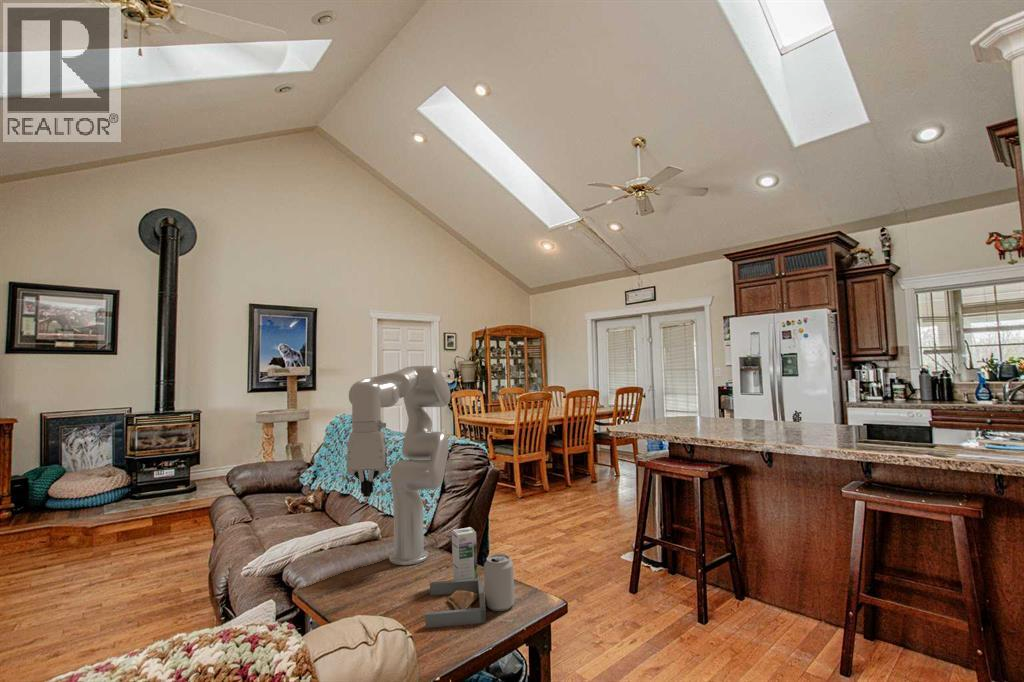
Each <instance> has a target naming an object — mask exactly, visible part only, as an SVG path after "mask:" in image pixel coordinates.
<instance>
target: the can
mask: <svg viewBox="0 0 1024 682" xmlns="http://www.w3.org/2000/svg"><path fill="white" fill-rule="evenodd" d="M483 575H484V578H483V579H484V582H483V583H484V599H485V607H486V606H487V608H488V609H489V610H491V611H494V612H505V611H507V610H509V609H510V608H511V607H512V606H513V605H514V604H515V584H514V583H515V582H514V581H515V580H514V579H515V578H514V562H513V561H512V560H511V556H510V555H509V554H505V553H493V554H490V555H488V556H487V557H486V561H485V562H484V564H483Z"/></svg>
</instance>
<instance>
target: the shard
mask: <svg viewBox="0 0 1024 682" xmlns="http://www.w3.org/2000/svg"><path fill="white" fill-rule="evenodd" d="M478 599H479V595H478V593H477V592H470V591H462V590H457V591H455V592H454V594H450V595H449V596H447V597H446V601H447V602H448V603H449V604H451V605H452V607H453V608H454V610H459V609H470V607H471V606H472V605H473V604H474V602H475V601H477V600H478Z"/></svg>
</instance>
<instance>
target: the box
mask: <svg viewBox="0 0 1024 682" xmlns="http://www.w3.org/2000/svg"><path fill="white" fill-rule="evenodd" d="M457 590H462V591H470V592H474V593H477V594H478V595H479V597H478V605H479V607H471V608H468V609H459V610H456V609H450V610H449V609H448V610H437V611H425V613H424V616H425V617H424V618H425V626H424V627H425V629H429V628H431V629H432V628H440V627H443V628H444V627H453V626H463V625H476V624H486V623H487V611H486V610H487V609H486V604H485V589H484V582H483V578H482V577H478V579H466V580H453V579H451V580H443V581H442V580H441V581H430V582H429V596H440V595H442V596H443V595H452V594H454V592H455V591H457Z"/></svg>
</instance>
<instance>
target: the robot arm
mask: <svg viewBox="0 0 1024 682" xmlns="http://www.w3.org/2000/svg"><path fill="white" fill-rule="evenodd" d="M444 377H445V376H444V375H443V374H442V372H441V371H440V370H439V369H438V367H436V366H435V365H434V366H433V365H416V366H415V365H413V366H406V367H404V368H402V369H399V370H396V371H395V372H390V373H384V374H382V375H376V376H372V377H367V378H364V379H361V380H359V381H356V382H355V383H353V384H352V385H351V387H350V388H349V391H348V400H349V403H350V404H351V405H352V406H351V410H352V411H351V412H352V413H351V414H352V415H351V416H352V419H351V420H352V422H351V424H352V426H351V427H352V428H351V429H352V432H350V433H349V437H348V443H347V451H346V452H347V453H346V467H347V468H346V471H345V472H346V473H345V474H346V475H348V476H353V477H355V478H357V480H359V482H360V494H362V498H365V497H367V498H369V497H370V496H371V495H372V494H373V493H374V479H376V477H377V476H379V475H381V474H386V473H387V472H388V467H387V463H388V462H387V461H388V458H387V457H388V456H387V444H386V435H385V432H384V431H382V429H385V428H387V423H386V422H383V421H382V418H381V415H382V414H381V408H391V407H393V406H395V405H396V404H397V403H398V402H399V399H401V398H403V402H404V407H405V410H406V414H407V418H408V421H407V427H406V430H405V434H404V439H403V442H402V447H401V453H402V456H403V457H404V458H406V459H404V460H403V459H402V460H398V461H397V462H395V463H394V464H392V466H391V468H390V471H389V478H390V483H391V485H390V486H391V488H392V497H393V499H392V501H393V552H392V553H391V554H390V555H389V557H388V558H389V562H390V563H391V564H394V565H396V566H411V565H416V564H419V563H422V562H425V561H426V560H427V559H429V551H428V550H427V549H424V548H425V545H424V544H425V543H424V540H425V539H424V535H425V534H424V502H423V499H422V497H421V495H420V493H419V492H418V491H433V490H434V491H435V490H438V489H439V488H440V487H441V486H442V484H443V481H444V477H445V473H446V467H447V462H448V454H449V449H450V444H449V439H448V438H449V437H448V436H447V434H445V433H444V432H442V431H432V428H433V420H432V418H431V417H430V415H429V414H428V413H427V412H426V411H425V409H424V408H442V407H443V408H444V407H446V406H447V405H449V403H450V401H451V397H452V396H451V389H450V386H449V385H448V383H447V381H446V379H445V378H444ZM366 471H369V472H368V478H367V476H366Z"/></svg>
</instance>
